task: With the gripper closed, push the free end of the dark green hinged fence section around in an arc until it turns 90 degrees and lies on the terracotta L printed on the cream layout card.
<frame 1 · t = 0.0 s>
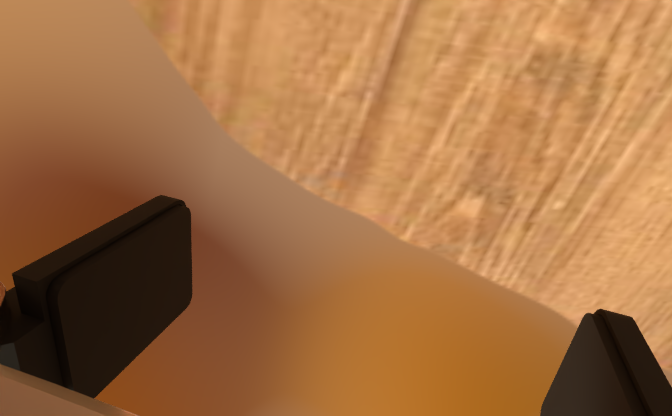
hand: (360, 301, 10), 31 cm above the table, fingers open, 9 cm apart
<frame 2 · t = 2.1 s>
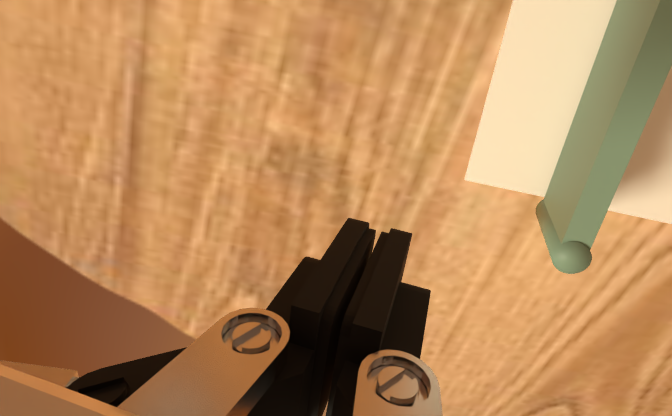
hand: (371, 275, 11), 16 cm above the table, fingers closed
fence panel: (605, 118, 19), point 4 cm above the table, hinge at 0.0°
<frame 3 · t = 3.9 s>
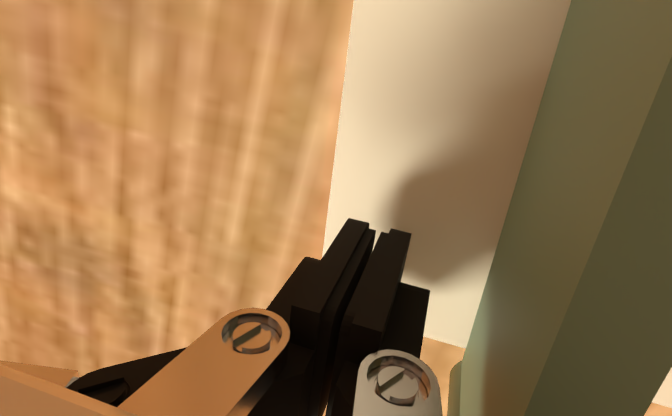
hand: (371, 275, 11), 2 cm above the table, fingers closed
fence panel: (564, 249, 7), point 4 cm above the table, hinge at 0.8°, touching gripper
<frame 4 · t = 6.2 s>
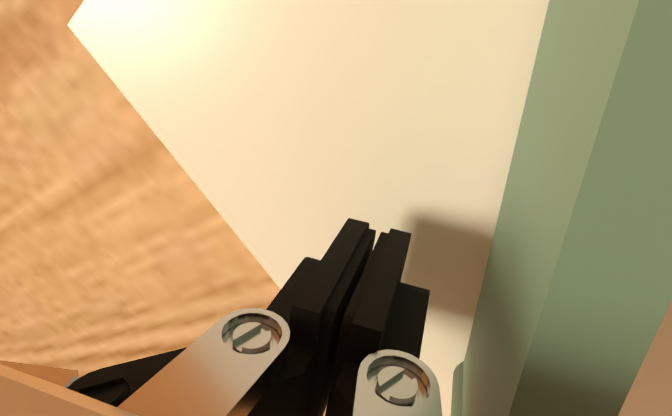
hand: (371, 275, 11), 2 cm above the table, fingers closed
fence panel: (549, 250, 8), point 4 cm above the table, hinge at 48.3°, touching gripper
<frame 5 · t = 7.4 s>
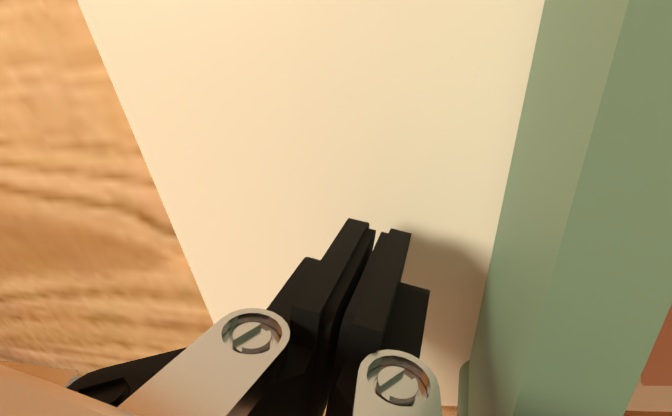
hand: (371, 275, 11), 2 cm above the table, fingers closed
layout card: (640, 33, 9), on the table
fence panel: (552, 243, 7), point 4 cm above the table, hinge at 72.2°, touching gripper
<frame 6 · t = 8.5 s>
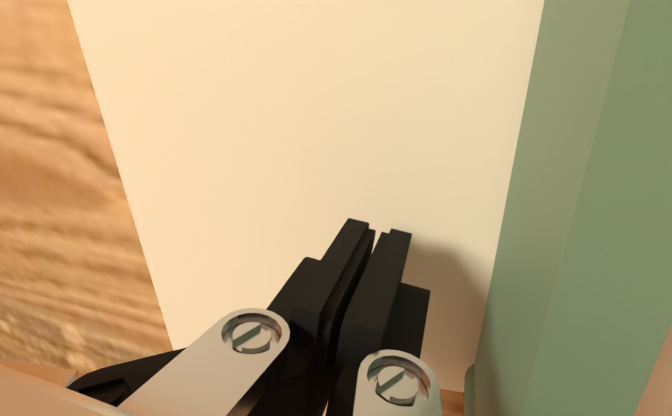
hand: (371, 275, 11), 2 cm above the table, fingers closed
layout card: (591, 42, 9), on the table
fence panel: (556, 246, 7), point 4 cm above the table, hinge at 82.5°
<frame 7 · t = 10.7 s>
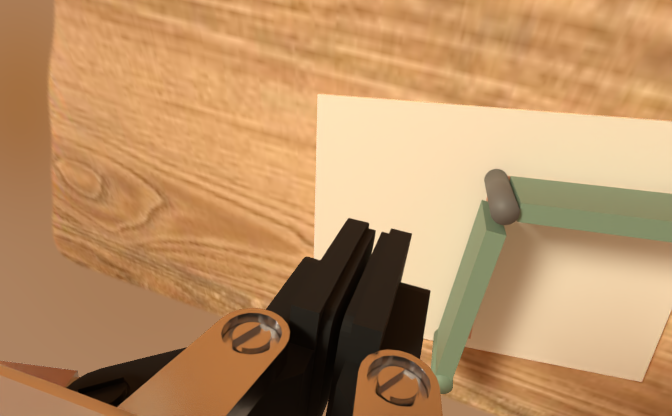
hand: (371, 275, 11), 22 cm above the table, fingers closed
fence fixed: (586, 188, 29), resting on layout card
layout card: (483, 239, 33), on the table
fence panel: (463, 297, 31), point 4 cm above the table, hinge at 82.5°
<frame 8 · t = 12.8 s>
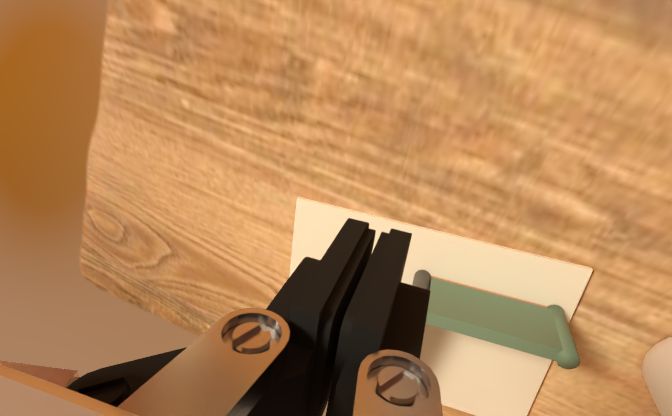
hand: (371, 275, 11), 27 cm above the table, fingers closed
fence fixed: (486, 291, 40), resting on layout card
layout card: (412, 315, 43), on the table
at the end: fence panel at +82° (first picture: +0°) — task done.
